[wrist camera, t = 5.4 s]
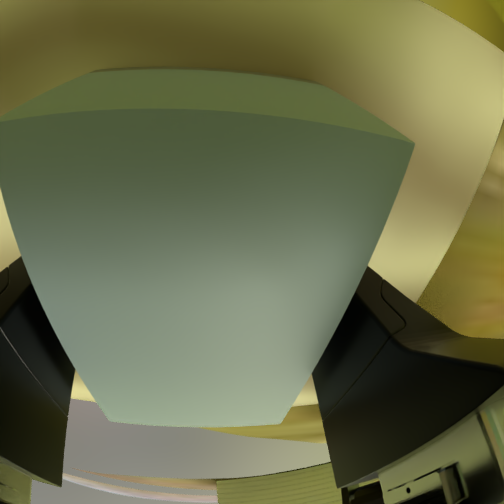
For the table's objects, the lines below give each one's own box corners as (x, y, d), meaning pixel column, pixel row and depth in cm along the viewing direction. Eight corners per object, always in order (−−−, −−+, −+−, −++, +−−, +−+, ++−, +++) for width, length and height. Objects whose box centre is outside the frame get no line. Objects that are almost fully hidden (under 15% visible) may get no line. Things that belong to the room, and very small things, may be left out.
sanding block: (262, 319, 13) (280, 423, 9) (125, 315, 12) (109, 421, 8) (317, 81, 7) (415, 143, 4) (96, 69, 6) (-13, 123, 3)
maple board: (337, 382, 21) (342, 400, 20) (57, 376, 18) (53, 395, 16) (491, 54, 7) (518, 63, 6) (-45, 12, 4) (-71, 17, 3)
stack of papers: (232, 486, 52) (237, 530, 43) (216, 479, 45) (220, 531, 37) (385, 453, 50) (397, 497, 42) (394, 442, 43) (408, 493, 35)
